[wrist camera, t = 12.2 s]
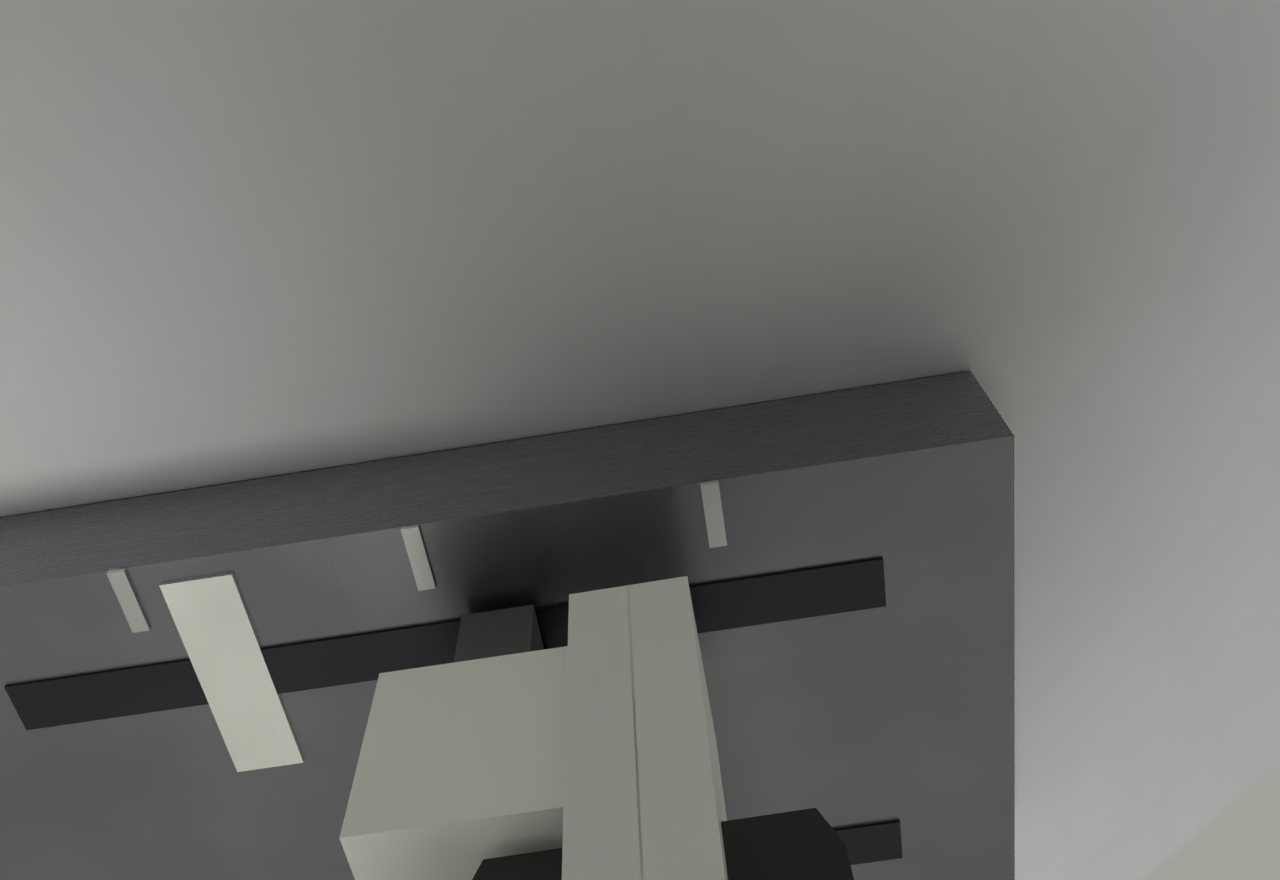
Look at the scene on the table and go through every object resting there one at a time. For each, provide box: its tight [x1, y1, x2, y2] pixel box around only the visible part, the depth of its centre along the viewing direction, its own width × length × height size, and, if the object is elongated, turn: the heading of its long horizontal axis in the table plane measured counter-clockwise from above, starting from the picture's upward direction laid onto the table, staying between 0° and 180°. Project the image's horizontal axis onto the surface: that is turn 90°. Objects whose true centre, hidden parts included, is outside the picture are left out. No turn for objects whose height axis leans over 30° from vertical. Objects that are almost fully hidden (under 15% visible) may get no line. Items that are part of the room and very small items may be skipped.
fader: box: [339, 605, 568, 880], centre depth 15 cm, size 2×2×4 cm
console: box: [0, 371, 1014, 880], centre depth 19 cm, size 16×9×2 cm, turn 99°
